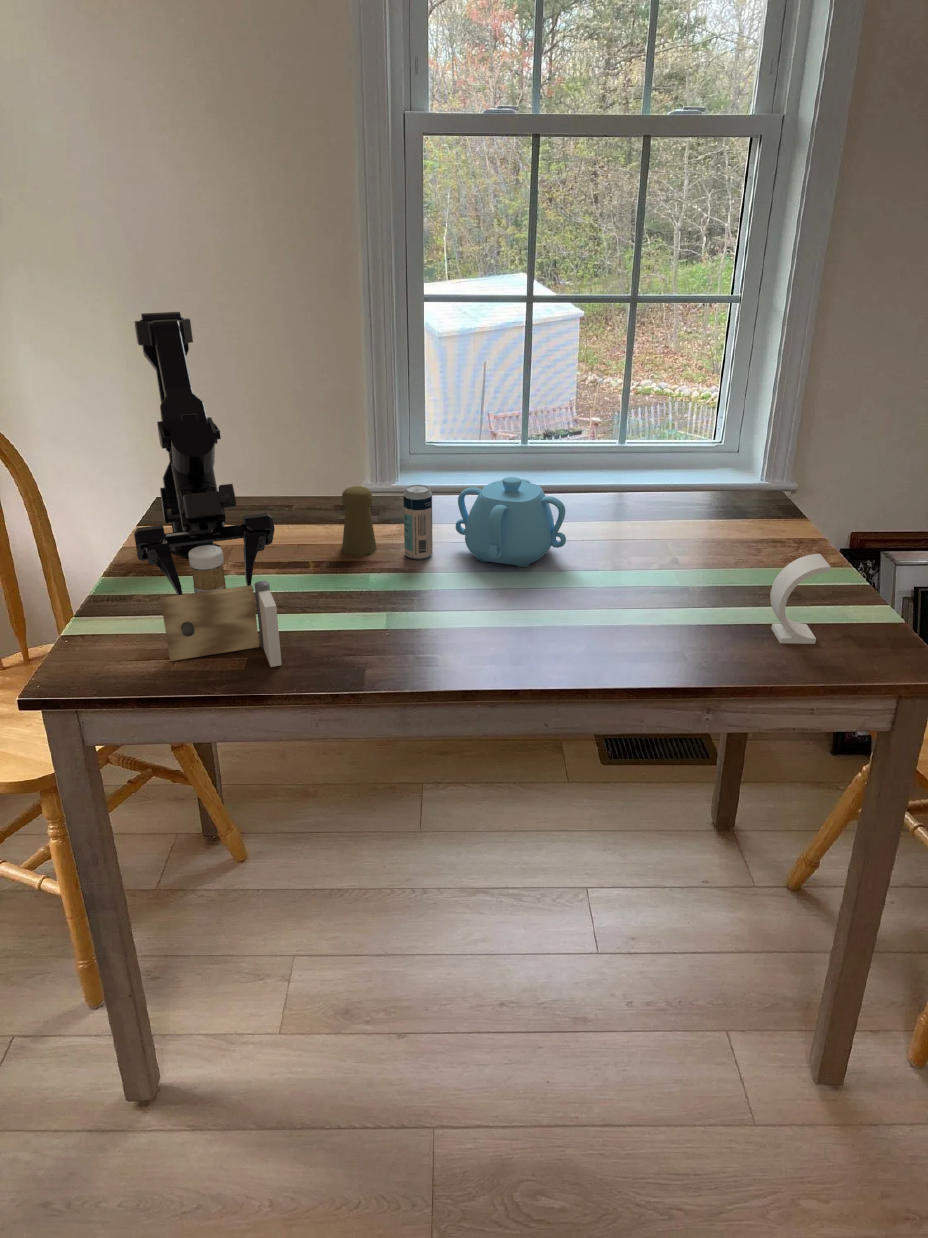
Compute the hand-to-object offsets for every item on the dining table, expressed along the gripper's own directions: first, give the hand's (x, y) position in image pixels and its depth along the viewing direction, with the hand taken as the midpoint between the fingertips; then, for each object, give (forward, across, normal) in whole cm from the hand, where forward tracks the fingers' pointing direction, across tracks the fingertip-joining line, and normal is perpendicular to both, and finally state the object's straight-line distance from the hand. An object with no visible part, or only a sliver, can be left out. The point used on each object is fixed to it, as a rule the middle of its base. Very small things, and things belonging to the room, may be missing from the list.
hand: (215, 592), depth 130 cm
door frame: (+10, +6, +1) cm, 11 cm away
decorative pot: (-5, +51, +16) cm, 54 cm away
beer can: (-9, +36, +20) cm, 42 cm away
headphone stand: (+24, +78, -13) cm, 82 cm away
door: (+8, -1, +2) cm, 8 cm away
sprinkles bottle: (+4, 0, +6) cm, 8 cm away
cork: (-13, +27, +24) cm, 39 cm away
